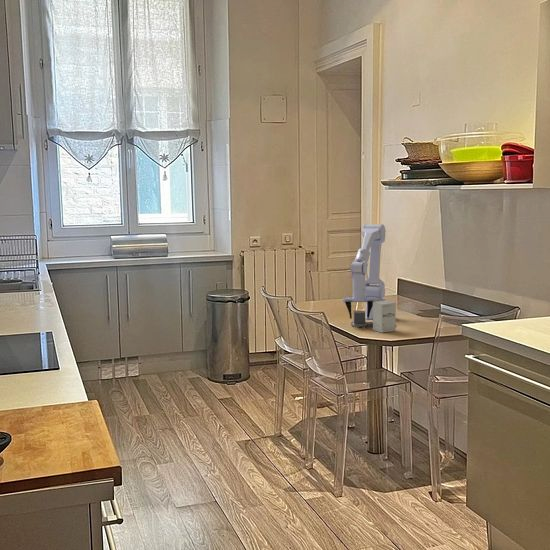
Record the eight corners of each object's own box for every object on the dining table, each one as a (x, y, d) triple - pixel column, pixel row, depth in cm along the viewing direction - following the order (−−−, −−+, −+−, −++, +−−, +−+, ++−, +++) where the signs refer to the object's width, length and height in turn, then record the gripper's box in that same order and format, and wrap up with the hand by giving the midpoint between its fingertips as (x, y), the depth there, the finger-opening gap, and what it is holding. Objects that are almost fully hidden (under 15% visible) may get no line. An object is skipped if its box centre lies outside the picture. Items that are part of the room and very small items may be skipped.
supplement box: (381, 333, 300) (381, 304, 299) (372, 329, 307) (372, 301, 305) (396, 331, 303) (396, 302, 301) (386, 328, 310) (386, 299, 308)
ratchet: (393, 323, 319) (393, 315, 318) (395, 327, 311) (395, 318, 310) (350, 324, 320) (350, 315, 319) (351, 328, 312) (351, 319, 311)
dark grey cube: (364, 321, 318) (364, 310, 317) (365, 323, 313) (365, 312, 312) (353, 321, 318) (353, 310, 317) (354, 324, 313) (354, 313, 312)
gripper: (343, 289, 310) (343, 320, 311) (376, 289, 309) (376, 319, 311) (342, 287, 317) (342, 316, 318) (374, 286, 316) (375, 316, 318)
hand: (359, 318), depth 315 cm, fingers open, 7 cm apart
